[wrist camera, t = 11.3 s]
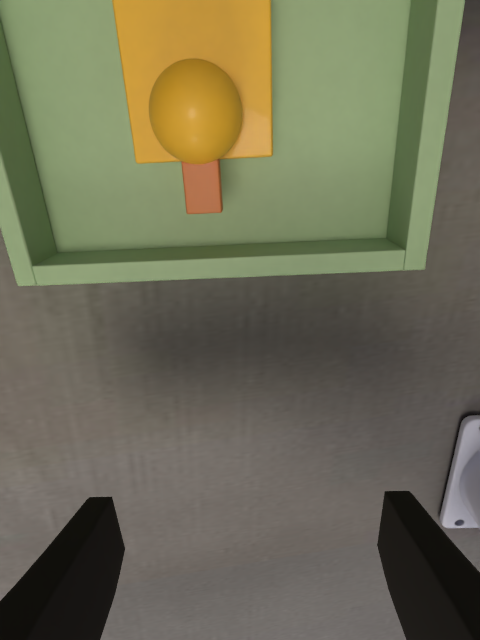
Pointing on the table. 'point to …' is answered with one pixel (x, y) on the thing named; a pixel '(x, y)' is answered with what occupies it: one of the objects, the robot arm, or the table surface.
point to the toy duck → (197, 86)
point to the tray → (236, 174)
